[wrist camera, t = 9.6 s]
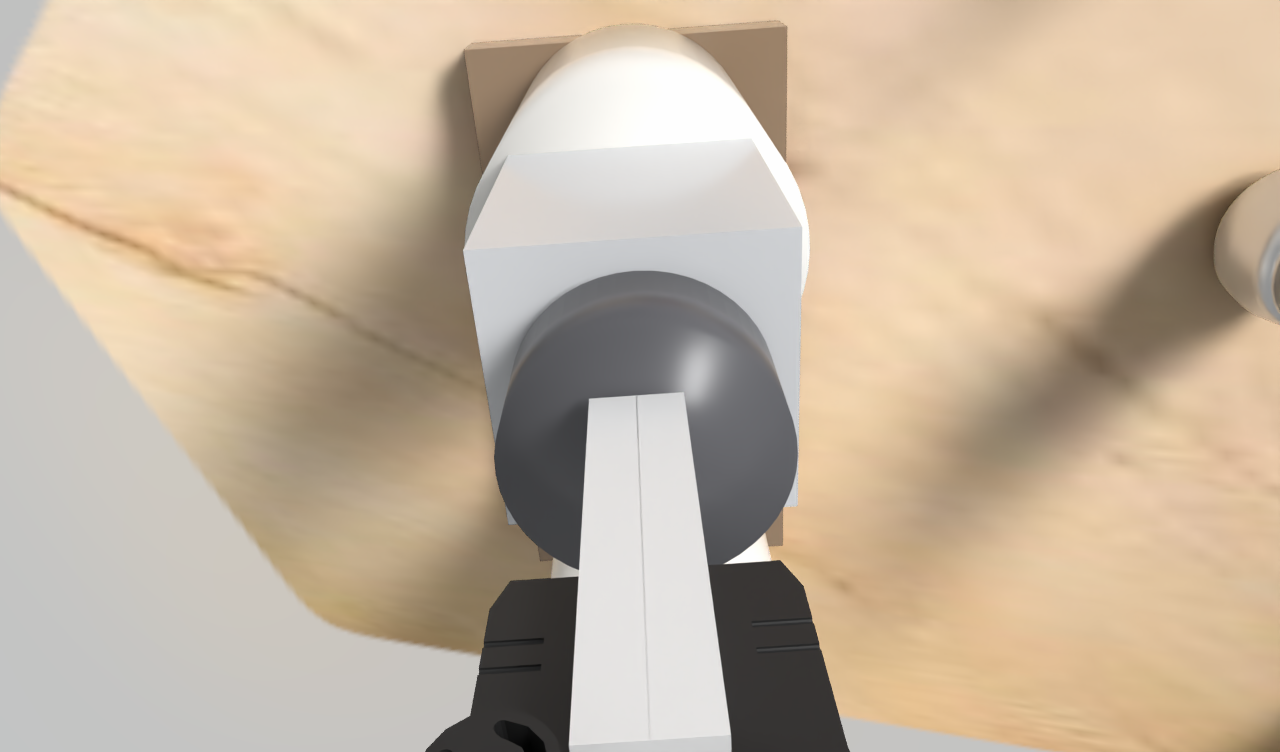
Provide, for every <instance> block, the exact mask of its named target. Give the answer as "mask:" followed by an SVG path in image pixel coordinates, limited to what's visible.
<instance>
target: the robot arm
mask: <svg viewBox="0 0 1280 752" xmlns="http://www.w3.org/2000/svg"><path fill="white" fill-rule="evenodd" d="M425 752H850V751H849V749H848V746H847V742H846V739H845V735H844V732H843V728H842V725H841V721H840V717H839V713H838V710H837V706H836V702H835V699H834V695H833V691H832V688H831V684H830V681H829V677H828V673H827V670H826V666H825V662H824V659H823V655H822V651H821V650H820V647H819V641H818V637H817V633H816V630H815V626H814V623H813V622H812V615H811V611H810V608H809V604H808V601H807V597H806V593H805V590H804V586H803V585H802V584H801V583H800V582H799V581H798V579H797V578H796V577H795V576H794V575H793V574H792V573H791V572H790V571H789V569H788V568H787V567H786V566H785V565H784V564H783V563H782V562H781V561H780V560H777V561H762V562H747V563H732V564H717V565H708V564H707V557H706V549H705V542H704V535H703V528H702V520H701V513H700V506H699V499H698V491H697V484H696V477H695V470H694V462H693V455H692V448H691V441H690V433H689V426H688V419H687V411H686V404H685V397H684V392H678V393H664V394H649V395H635V396H621V397H606V398H592V399H589V408H588V425H587V443H586V460H585V477H584V494H583V511H582V529H581V546H580V563H579V576H576V577H561V578H546V579H531V580H516V581H510V582H509V584H508V585H507V586H506V588H505V589H504V591H503V592H502V593H501V595H500V596H499V597H498V599H497V600H496V602H495V603H494V604H493V606H492V607H491V608H490V611H489V616H488V621H487V627H486V632H485V638H484V648H483V649H482V654H481V660H480V665H479V675H478V677H477V682H476V687H475V693H474V698H473V704H472V709H471V715H470V716H469V717H467V718H466V719H464V720H462V721H460V722H458V723H457V724H455V725H453V726H451V727H449V728H448V729H446V730H445V731H444V732H443V733H442V734H441V735H440V736H439V737H438V738H437V739H436V740H435V741H434V742H433V743H432V744H431V745H430V746H429V747H428V748H427V749H426V751H425Z"/></svg>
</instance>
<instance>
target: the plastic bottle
mask: <svg viewBox="0 0 1280 752" xmlns="http://www.w3.org/2000/svg"><path fill="white" fill-rule="evenodd" d="M1214 265H1215V271H1216V274H1217V276H1218V278H1219V281H1220V283H1221V284H1222V285H1223V287H1224V288H1225V289H1226V290H1227V291H1228V292H1229V294H1230V295H1231V296H1232V297H1233V298H1234V299H1235V300H1236V301H1237V302H1238V303H1239V304H1240V305H1241V306H1242V307H1243V308H1244V309H1246V310H1247V311H1249V312H1250V313H1252V314H1253V315H1255V316H1258V317H1260V318H1263V319H1265V320H1268V321H1270V322H1273V323H1275V324H1278V325H1280V169H1279V170H1277V171H1275V172H1272V173H1270V174H1268V175H1267V176H1265V177H1263V178H1261V179H1260V180H1258V181H1257V182H1255V183H1253V184H1252V185H1250V186H1249V187H1248V188H1247V189H1245V190H1244V191H1243V192H1242V193H1241V194H1240V195H1239V196H1238V197H1237V198H1236V199H1235V200H1234V201H1233V203H1232V204H1231V205H1230V206H1229V208H1228V209H1227V211H1226V212H1225V214H1224V216H1223V217H1222V220H1221V222H1220V224H1219V226H1218V229H1217V233H1216V237H1215V242H1214Z"/></svg>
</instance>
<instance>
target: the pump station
mask: <svg viewBox="0 0 1280 752" xmlns="http://www.w3.org/2000/svg"><path fill="white" fill-rule="evenodd" d="M464 54H465V61H466V68H467V74H468V81H469V88H470V95H471V101H472V108H473V115H474V121H475V128H476V135H477V141H478V148H479V155H480V161H481V168H482V175H483V176H482V178H481V180H480V182H479V184H478V186H477V188H476V191H475V194H474V197H473V199H472V202H471V205H470V208H469V214H468V219H467V224H466V230H465V247H464V249H463V254H464V260H465V266H466V274H467V278H468V284H469V290H470V296H471V302H472V308H473V314H474V320H475V326H476V332H477V338H478V344H479V350H480V356H481V362H482V368H483V374H484V380H485V386H486V392H487V398H488V404H489V410H490V416H491V422H492V428H493V434H494V440H495V441H496V436H497V432H498V427H499V423H500V419H501V415H502V410H503V406H504V402H505V398H506V394H507V390H508V386H509V382H510V377H511V373H512V369H513V365H514V361H515V357H516V355H517V352H518V349H519V347H520V344H521V342H522V340H523V339H524V337H525V335H526V333H527V332H528V330H529V328H530V327H531V326H532V324H533V323H534V322H535V321H536V319H537V318H538V317H539V315H540V314H541V313H543V312H544V311H545V310H546V309H547V308H548V307H549V306H550V305H551V304H552V303H553V302H554V301H556V300H557V299H559V298H560V297H561V296H563V295H564V294H565V293H567V292H569V291H571V290H572V289H574V288H576V287H578V286H579V285H581V284H584V283H586V282H589V281H591V280H594V279H596V278H599V277H603V276H607V275H611V274H615V273H621V272H628V271H661V272H669V273H674V274H678V275H682V276H686V277H690V278H693V279H695V280H698V281H700V282H703V283H706V284H707V285H709V286H711V287H713V288H715V289H717V290H718V291H720V292H722V293H723V294H725V295H726V296H727V297H729V298H730V299H732V300H733V301H734V302H736V303H737V304H738V305H739V306H740V307H741V308H742V309H743V310H744V311H745V312H746V313H747V314H748V315H749V317H750V318H751V319H752V320H753V322H754V323H755V324H756V326H757V327H758V329H759V330H760V332H761V334H762V336H763V337H764V339H765V341H766V343H767V346H768V349H769V351H770V354H771V356H772V359H773V362H774V365H775V368H776V371H777V374H778V377H779V380H780V383H781V386H782V389H783V392H784V395H785V398H786V401H787V404H788V407H789V410H790V413H791V416H792V419H793V422H794V427H795V431H796V436H797V446H798V449H799V392H800V336H801V297H802V294H803V291H804V287H805V282H806V278H807V274H808V266H809V255H810V240H809V226H808V221H807V215H806V210H805V206H804V203H803V200H802V197H801V194H800V191H799V188H798V185H797V183H796V181H795V179H794V177H793V175H792V173H791V171H790V169H789V167H788V165H787V164H786V111H787V26H786V25H785V24H783V23H782V22H780V21H767V22H753V23H739V24H726V25H712V26H698V27H685V28H671V29H665V28H662V27H658V26H653V25H646V24H619V25H612V26H607V27H603V28H600V29H596V30H593V31H591V32H589V33H586V34H584V35H575V36H561V37H548V38H534V39H520V40H507V41H493V42H479V43H471V44H470V45H469V46H468V47H467V48H466V49H464ZM797 505H798V460H797V471H796V475H795V479H794V483H793V487H792V490H791V492H790V495H789V497H788V499H787V502H786V504H785V506H784V507H791V506H797ZM505 507H506V504H505ZM506 513H507V519H508V525H514V524H517V523H516V522H515V520H514V518H513V517H512V515H511V513H510V512H509V510H508V508H507V507H506ZM782 545H783V509H782V511H781V512H780V514H779V516H778V517H777V519H776V520H775V521H774V523H773V524H772V525H771V526H770V528H769V529H768V530H767V531H766V532H765V533H764V534H763V535H762V536H761V537H760V538H759V539H758V540H757V541H756V542H755V543H754V544H753V545H752V546H750V547H749V548H748V549H746V550H745V551H744V552H743V553H741V554H740V555H738V556H736V557H735V558H733V559H731V560H730V561H728V562H726V563H725V564H732V563H747V562H762V561H772V560H771V556H770V551H769V547H768V546H782ZM538 550H539V557H540V561H548V560H553V562H552V572H551V578H561V577H576V576H579V570H577V569H575V568H572V567H570V566H568V565H566V564H564V563H562V562H561V561H559V560H557V559H556V558H554V557H552V556H551V555H549V554H548V553H547V552H545V551H544V550H543V549H541V548H540V547H539V546H538Z"/></svg>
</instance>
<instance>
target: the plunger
mask: <svg viewBox="0 0 1280 752" xmlns="http://www.w3.org/2000/svg"><path fill="white" fill-rule="evenodd" d="M678 392H684V397H685V404H686V411H687V419H688V426H689V433H690V441H691V448H692V455H693V462H694V470H695V477H696V484H697V491H698V499H699V506H700V513H701V520H702V528H703V535H704V542H705V549H706V557H707V564H708V565H717V564H725V563H726V562H728V561H730V560H731V559H733V558H735V557H736V556H738V555H740V554H741V553H743V552H744V551H745V550H746V549H748V548H749V547H750V546H752V545H753V544H754V543H755V542H756V541H757V540H758V539H759V538H760V537H761V536H762V535H763V534H764V533H765V532H766V531H767V530H768V529H769V528H770V526H771V525H772V524H773V523H774V521H775V520H776V519H777V517H778V516H779V514H780V512H781V511H782V509H783V507H784V506H785V504H786V502H787V499H788V497H789V495H790V492H791V490H792V487H793V483H794V479H795V475H796V471H797V460H798V446H797V436H796V431H795V427H794V422H793V419H792V416H791V413H790V410H789V407H788V404H787V401H786V398H785V395H784V392H783V389H782V386H781V383H780V380H779V377H778V374H777V371H776V368H775V365H774V362H773V359H772V356H771V354H770V351H769V349H768V346H767V343H766V341H765V339H764V337H763V336H762V334H761V332H760V330H759V329H758V327H757V326H756V324H755V323H754V322H753V320H752V319H751V318H750V317H749V315H748V314H747V313H746V312H745V311H744V310H743V309H742V308H741V307H740V306H739V305H738V304H737V303H736V302H734V301H733V300H732V299H730V298H729V297H727V296H726V295H725V294H723V293H722V292H720V291H718V290H717V289H715V288H713V287H711V286H709V285H707V284H706V283H703V282H700V281H698V280H695V279H693V278H690V277H686V276H682V275H678V274H674V273H669V272H661V271H628V272H621V273H615V274H611V275H607V276H603V277H599V278H596V279H594V280H591V281H589V282H586V283H584V284H581V285H579V286H578V287H576V288H574V289H572V290H571V291H569V292H567V293H565V294H564V295H563V296H561V297H560V298H559V299H557V300H556V301H554V302H553V303H552V304H551V305H550V306H549V307H548V308H547V309H546V310H545V311H544V312H543V313H541V314H540V315H539V317H538V318H537V319H536V321H535V322H534V323H533V324H532V326H531V327H530V328H529V330H528V332H527V333H526V335H525V337H524V339H523V340H522V342H521V344H520V347H519V349H518V352H517V355H516V357H515V361H514V365H513V369H512V373H511V377H510V382H509V386H508V390H507V394H506V398H505V402H504V406H503V410H502V415H501V419H500V423H499V427H498V432H497V436H496V441H495V455H494V460H495V471H496V477H497V481H498V485H499V489H500V492H501V495H502V497H503V500H504V502H505V504H506V507H507V508H508V510H509V512H510V513H511V515H512V517H513V518H514V520H515V522H516V523H517V524H518V525H519V527H520V528H521V529H522V530H523V532H524V533H525V534H526V535H527V536H528V537H529V538H530V539H531V540H532V541H533V542H534V543H535V544H536V545H537V546H539V547H540V548H541V549H543V550H544V551H545V552H547V553H548V554H549V555H551V556H552V557H554V558H556V559H557V560H559V561H561V562H562V563H564V564H566V565H568V566H570V567H572V568H575V569H577V570H579V563H580V546H581V529H582V511H583V494H584V477H585V460H586V443H587V425H588V408H589V399H592V398H606V397H621V396H635V395H649V394H664V393H678Z"/></svg>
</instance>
